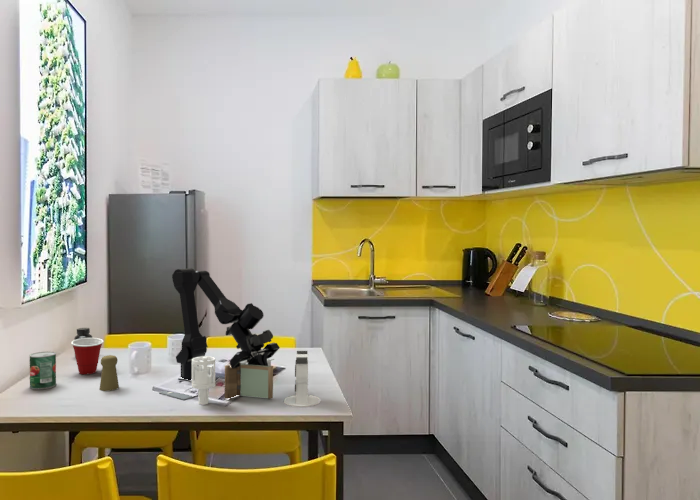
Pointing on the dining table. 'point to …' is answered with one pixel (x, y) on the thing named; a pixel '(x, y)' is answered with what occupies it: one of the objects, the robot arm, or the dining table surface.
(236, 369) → the fence fixed
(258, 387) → the folding section
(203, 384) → the white stepped cylinder
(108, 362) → the cork
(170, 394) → the card
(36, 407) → the dining table surface
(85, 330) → the supplement bottle
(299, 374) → the white stand
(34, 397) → the dining table surface
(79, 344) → the plastic cup
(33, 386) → the canned tomato
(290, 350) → the dining table surface
